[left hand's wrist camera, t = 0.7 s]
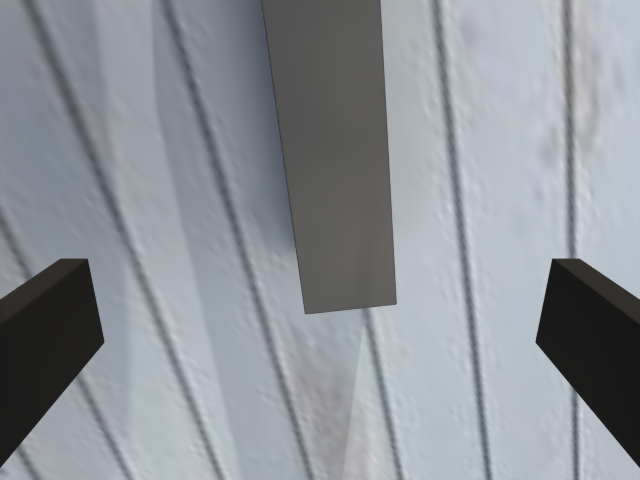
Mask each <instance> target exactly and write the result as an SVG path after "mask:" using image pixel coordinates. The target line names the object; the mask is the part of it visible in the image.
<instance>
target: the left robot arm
mask: <svg viewBox="0 0 640 480" xmlns="http://www.w3.org/2000/svg"><path fill="white" fill-rule="evenodd" d="M103 344H104V337H103V332H102V327H101V322H100V317H99V312H98V307H97V302H96V297H95V293H94V288H93V283H92V278H91V273H90V268H89V263H88V259H59V260H58V261H56V262H55V263H53V264H52V265H50V266H49V267H48V268H46V269H45V270H43V271H42V272H40V273H39V274H37V275H36V276H34V277H33V278H31V279H30V280H28V281H27V282H25V283H24V284H22V285H21V286H20V287H18V288H17V289H15V290H14V291H12V292H11V293H9V294H8V295H6V296H5V297H3V298H2V299H0V468H1V466H2V465H3V464H4V463H5V462H6V460H7V459H8V458H9V457H10V456H11V454H12V453H13V452H14V451H15V450H16V448H17V447H18V446H19V445H20V444H21V442H22V441H23V440H24V439H25V438H26V436H27V435H28V434H29V433H30V432H31V430H32V429H33V428H34V427H35V425H36V424H37V423H38V422H39V421H40V419H41V418H42V417H43V416H44V415H45V413H46V412H47V411H48V410H49V409H50V407H51V406H52V405H53V404H54V403H55V401H56V400H57V399H58V398H59V397H60V395H61V394H62V393H63V392H64V391H65V389H66V388H67V387H68V386H69V385H70V383H71V382H72V381H73V380H74V379H75V377H76V376H77V375H78V374H79V372H80V371H81V370H82V369H83V368H84V366H85V365H86V364H87V363H88V362H89V360H90V359H91V358H92V357H93V356H94V354H95V353H96V352H97V351H98V350H99V348H100V347H101V346H102V345H103ZM536 344H537V345H538V346H539V347H540V348H541V350H542V351H543V352H544V353H545V354H546V356H547V357H548V358H549V359H550V360H551V362H552V363H553V364H554V365H555V366H556V368H557V369H558V370H559V371H560V372H561V374H562V375H563V376H564V377H565V379H566V380H567V381H568V382H569V383H570V385H571V386H572V387H573V388H574V389H575V391H576V392H577V393H578V394H579V395H580V397H581V398H582V399H583V400H584V401H585V403H586V404H587V405H588V406H589V407H590V409H591V410H592V411H593V412H594V413H595V415H596V416H597V417H598V418H599V419H600V421H601V422H602V423H603V424H604V425H605V427H606V428H607V429H608V430H609V432H610V433H611V434H612V435H613V436H614V438H615V439H616V440H617V441H618V442H619V444H620V445H621V446H622V447H623V448H624V450H625V451H626V452H627V453H628V454H629V456H630V457H631V458H632V459H633V460H634V462H635V463H636V464H637V465H638V466H639V468H640V299H638V298H637V297H635V296H634V295H632V294H631V293H629V292H628V291H626V290H625V289H623V288H622V287H620V286H619V285H618V284H616V283H615V282H613V281H612V280H610V279H609V278H607V277H606V276H604V275H603V274H601V273H600V272H598V271H597V270H595V269H594V268H592V267H591V266H590V265H588V264H587V263H585V262H584V261H582V260H581V259H552V263H551V268H550V273H549V278H548V283H547V288H546V293H545V297H544V302H543V307H542V312H541V317H540V322H539V327H538V332H537V337H536Z"/></svg>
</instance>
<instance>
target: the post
mask: <svg viewBox="0 0 640 480" xmlns="http://www.w3.org/2000/svg"><path fill="white" fill-rule="evenodd" d="M261 1H262V9H263V16H264V23H265V30H266V37H267V45H268V52H269V59H270V66H271V73H272V81H273V88H274V95H275V102H276V109H277V117H278V124H279V131H280V138H281V145H282V152H283V160H284V167H285V174H286V181H287V188H288V196H289V203H290V210H291V217H292V224H293V232H294V239H295V246H296V253H297V260H298V268H299V275H300V282H301V289H302V296H303V304H304V311H305V314H314V313H323V312H332V311H341V310H351V309H360V308H369V307H378V306H387V305H396V304H397V300H396V281H395V263H394V244H393V226H392V207H391V189H390V170H389V151H388V133H387V114H386V96H385V77H384V59H383V40H382V21H381V3H380V0H261Z"/></svg>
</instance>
